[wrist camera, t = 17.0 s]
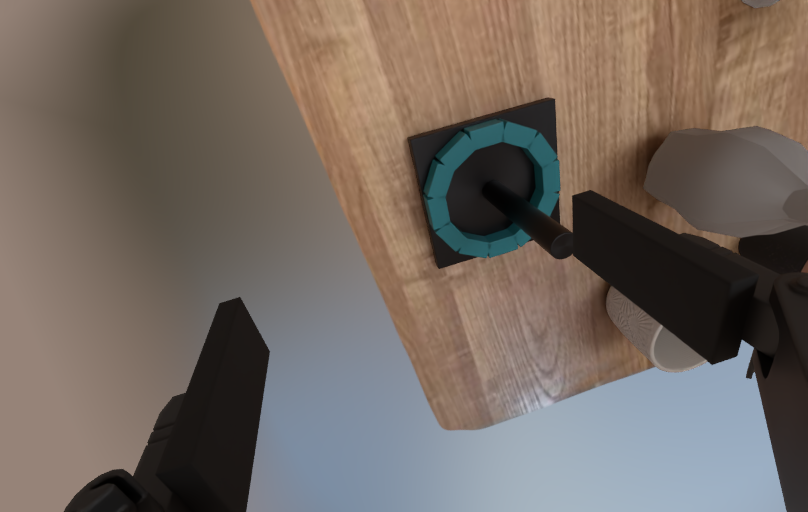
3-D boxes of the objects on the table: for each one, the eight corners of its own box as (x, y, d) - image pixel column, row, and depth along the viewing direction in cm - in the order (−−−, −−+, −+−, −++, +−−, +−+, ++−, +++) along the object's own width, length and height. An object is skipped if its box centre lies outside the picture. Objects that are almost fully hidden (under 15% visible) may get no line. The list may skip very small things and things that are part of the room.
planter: (668, 235, 54) (742, 273, 45) (677, 298, 60) (745, 343, 50) (587, 277, 55) (643, 324, 45) (604, 335, 61) (657, 387, 51)
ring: (439, 264, 48) (443, 272, 46) (411, 143, 40) (415, 147, 39) (554, 228, 48) (563, 234, 47) (546, 103, 41) (556, 105, 39)
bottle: (617, 127, 45) (1023, 221, 19) (705, 100, 46) (1217, 156, 20) (615, 213, 51) (929, 380, 25) (694, 188, 51) (1084, 325, 25)
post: (435, 263, 49) (483, 349, 35) (407, 137, 41) (453, 180, 27) (554, 227, 50) (649, 296, 36) (548, 97, 42) (665, 118, 28)
